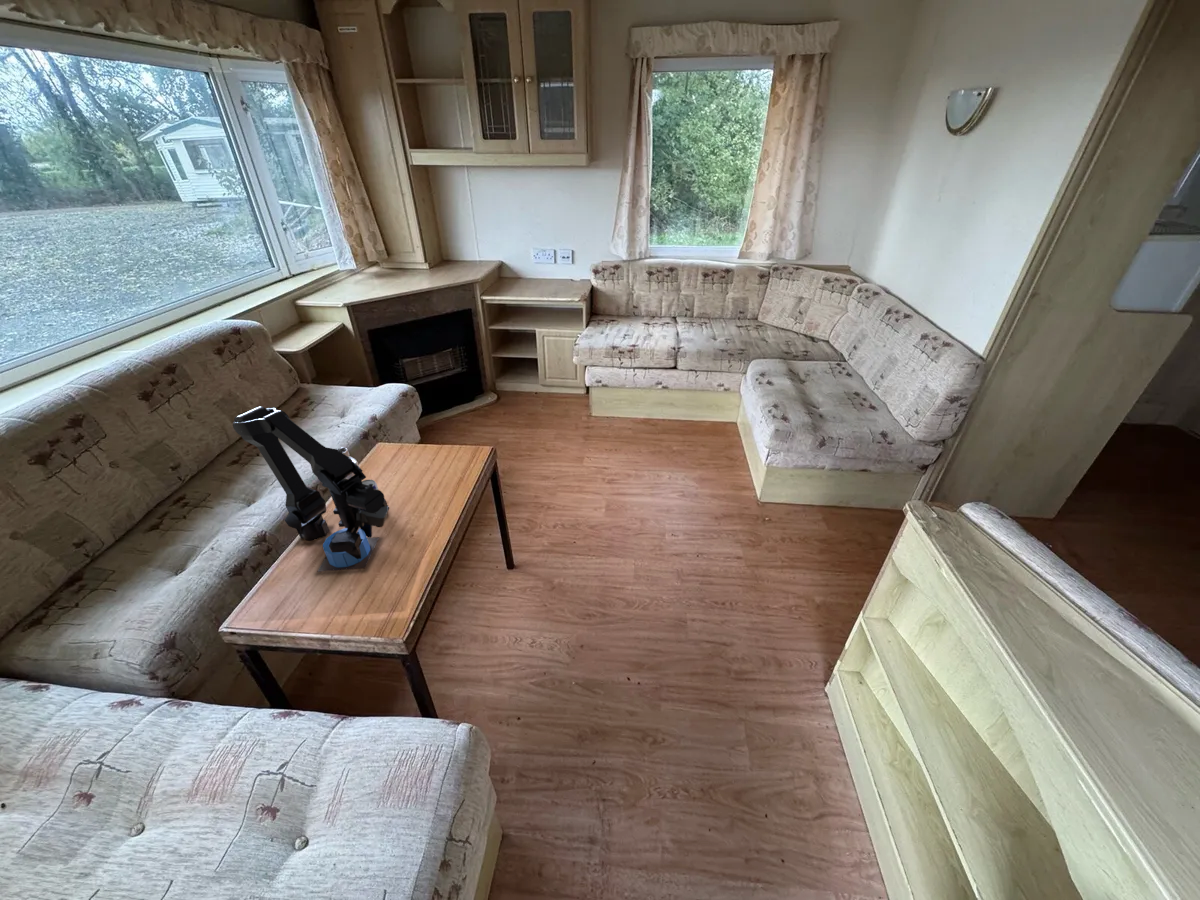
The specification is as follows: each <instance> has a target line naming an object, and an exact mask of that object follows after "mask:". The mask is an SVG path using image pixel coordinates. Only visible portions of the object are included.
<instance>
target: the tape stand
mask: <svg viewBox="0 0 1200 900" xmlns="http://www.w3.org/2000/svg"><path fill="white" fill-rule="evenodd" d="M379 539H380V536H376V537H375V536H374V537H373V536H372V537H367V540H368V543H369V545H370V551H369V553H368V555H367V557H365V558H364V559H363V560H362V561H360V562H358V563H357V564H354V565H351V566H349V567H339V568H337V567H335V566H332V565H330V563H329V561H328V559H327V557H326V556H325V557H324V559H323V561H322V563H321V564H320V566H319V568H318V570H317V573H319V572H333V571H351V570H364V569H366V567H367V565H368V563H369V561H370V558H371V556H372V554H373V553H374V550H375V547H376V546H377V543H378V541H379Z"/></svg>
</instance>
